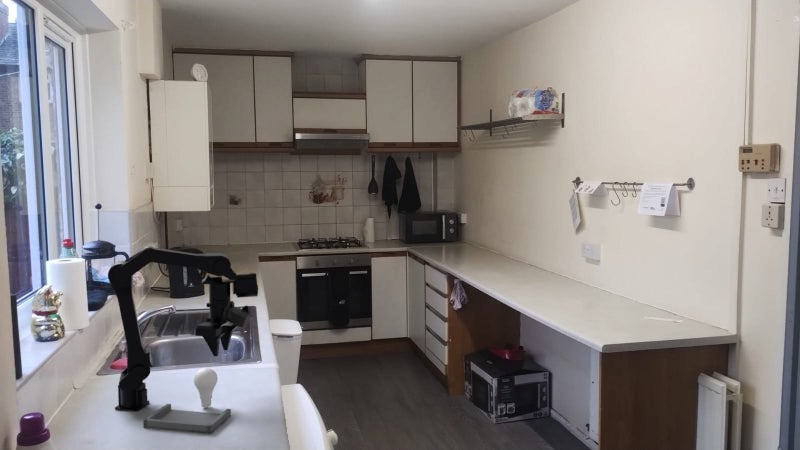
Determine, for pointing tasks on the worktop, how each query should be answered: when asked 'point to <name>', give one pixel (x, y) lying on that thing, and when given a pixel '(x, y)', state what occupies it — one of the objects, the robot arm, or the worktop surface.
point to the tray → (185, 420)
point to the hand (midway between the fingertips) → (220, 353)
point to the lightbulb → (205, 385)
